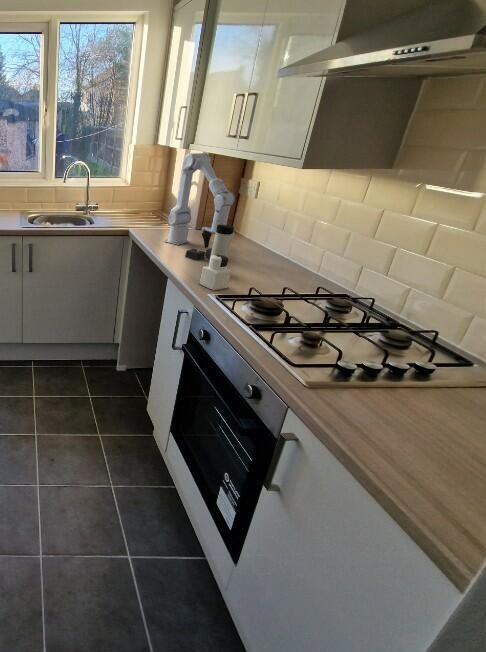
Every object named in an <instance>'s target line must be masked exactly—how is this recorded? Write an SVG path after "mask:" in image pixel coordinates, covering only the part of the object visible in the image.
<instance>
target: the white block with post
mask: <svg viewBox="0 0 486 652" xmlns="http://www.w3.org/2000/svg"><path fill="white" fill-rule="evenodd" d="M228 263H229V258H228V257H226V256H223V255H212V256H211V257H210V258H209V263H208V265H207V266H206V265H205V266H203V267H202V270H201V275H200V280H199V285H201V286H203V287H205V288H207V289H210V290H211V291H219V290H224V289H227V288H228V287H229V282H230V278H231V274H232V270H231V269H228V268H227V267H228Z"/></svg>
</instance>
